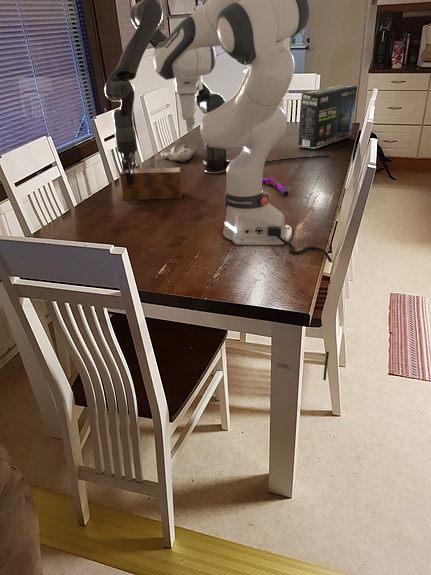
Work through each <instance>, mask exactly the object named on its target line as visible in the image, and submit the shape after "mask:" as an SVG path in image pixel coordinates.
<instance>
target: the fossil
mask: <svg viewBox="0 0 431 575" xmlns="http://www.w3.org/2000/svg"><path fill="white" fill-rule="evenodd" d="M198 153H199V150H198V148H197V146H195V145H188V146H187V145H186V143H184V142H183V143H181V142H176V143H175V145H174V146H173V147H172V148H171V149H170V150H168V149H165V150H162V151H161V152H160V156H161V158H162V159H163V160H169V161H174V162H177V161H179V162H180V163H185V162H187V161H188V160H190V159H191V158H192V157H193V156H194V155H197V154H198Z"/></svg>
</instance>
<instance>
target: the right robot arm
mask: <svg viewBox="0 0 431 575" xmlns="http://www.w3.org/2000/svg"><path fill="white" fill-rule="evenodd" d="M309 17H310V6H309V1H308V0H207V1H205V3H203V4H202V5H201V6H200V7H199V8H198V9H197V10H196V11H194V12H193V13H192V14H190V15H189V16H187V17H185V18H184V19H183V20H181V21H180V22H179V23H178V25H177V26H176V27H175V28H174V29H173V30H172V32H171V33H170V34H169V35H168V36H167V37H168V38H167V39H166V40H165V41H164V42H160V43H159V44H158V45H157V47H156V48H155V49H154V50H153V54H152V55H153V57H152V60H153V67H154V70H155V72H156V73H157V74H158V75H159V76H160V77H161V78H163V79H164V80H165V81H167V80H173V79H174V91H175V92H176V94H177V95H178V100H179V106H180V108H179V109H180V112H181V113H180V114H181V118H182V120H184V121H185V124H186V132H188V133H192V132H193V131H194V126H195V124H196V122H195V119H196V118H195V116H196V113H197V109H198V105H197V96H198V95H199V93H198V92H199V91H200V90H202V81H203V76H207V75H209V74H211V73H212V72H213V70H214V68H215V67H216V58H217V57H216V49H215V47H221V48H222V50H223V51H224V52H225V53H226V54H227V55H228V56H230V57H231V58H232V59H234V60H236V61H237V62H238V63H239V64H240V65H244V66H248V67H247V70H246V71H245V74H244V77H243V79H242V81H241V83H240V85H239V88H238V89H237V91H236V92H235V94H234V95H233V96H231V97H230V98H229V99H228V100H227V101H225V103H224V104H223V105H222V106H220V107H218V108H217V109H215V110H213V111H210V112H208V113H206V114H205V115H204V116H203V117H202V120H201V122H200V130H199V131H200V136H201V138H202V141H203V140H204V142H205V143H206V144H207V145H208V146H209V147H211V148H222V149H226V150H227V149H234V148H235V149H236V148H242V149H241V151H240V153H239V154H238V155H237V156H236V157H234V158H233V159H231V162H230V163H229V164H228V166H227V168H226V170H225V177H226V178H225V179H226V180H225V181H226V182H225V183H226V190H225V194H224V205H225V209H226V210H225V218H224V219H225V220H224V226H223V229H222V235H223V237H225V239H228V240H230V241H232V243H233V244H234V245H236V246H283V245H286V246H288V247H290V250H289V251H290V253H291V254H293V255H300V254H302V253H304V252H305V251H308V250H315V251H320V252H322V253H323V254H324V256H325V257H326V259H327V260H328V262H330V263H333V260H332V258H331V256H330V255H329V253H328V252H327V250H325V249H324V248H322V247H319V246H312V245H311V246H306V247H303V248H302V249H300V250H295V247H294V245H293V244H292V243H290V240H291V239H292V237H293V228H292V227H291V225H288V224H286V219H285V215H284V213H283V212H282V211H280V210H279V209H278V208H277V207H276V206H275V205H272V204H271V203H270V202H269V194H270V192H269V191H267V192H266V191H265V190H263V183H262V179H263V178H264V169H265V168H264V167H265V164H266V163H265V161H267V158H268V156H269V154H270V152H271V151H272V149H273V147H274V146H275V145H276V144H277V143H278V142H279V141H280V140H281V139H282V138H283V137H284V135H285V134H286V131H287V128H288V118H287V115H286V113H285V110H283V108H282V107H281V106H280V104H281V103H282V101H283V99H284V97H285V96H286V94H287V93H288V90H289V88H290V85H291V83H292V79H293V76H294V72H295V68H296V67H295V66H296V65H295V59H294V56H293V54H292V52H291V51H290V50H289V49H288V48H286V47H285V46H283V42H284V41H286V40H288V39H291V38H294V37H295V36H297V35H298V34H300V33H301V32H303V30H305V29H306V26H307V25H308V22H309ZM329 355H330V351H327V350H326V351H325V361H324V368H323V378H322V380H323V381H326V380H327V371H328V362H329Z"/></svg>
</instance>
